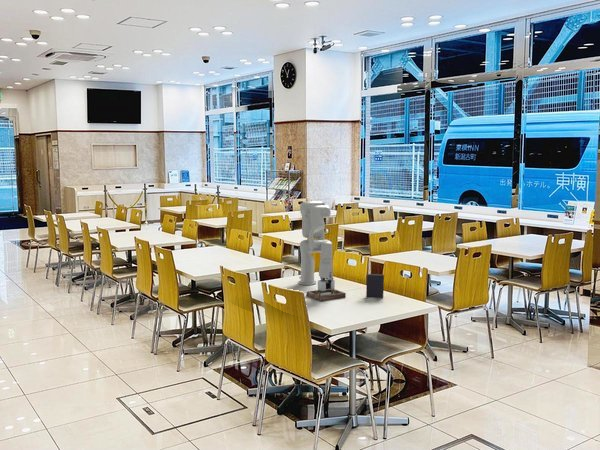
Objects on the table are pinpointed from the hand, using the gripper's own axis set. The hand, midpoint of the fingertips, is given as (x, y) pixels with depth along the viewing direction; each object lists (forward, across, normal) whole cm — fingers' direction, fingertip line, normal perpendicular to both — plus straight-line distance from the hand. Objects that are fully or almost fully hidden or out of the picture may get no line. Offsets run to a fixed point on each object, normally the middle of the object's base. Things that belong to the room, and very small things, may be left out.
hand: (326, 287), depth 379 cm
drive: (+1, 0, 0) cm, 1 cm away
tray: (+6, 0, 0) cm, 6 cm away
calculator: (+6, +17, +27) cm, 32 cm away
